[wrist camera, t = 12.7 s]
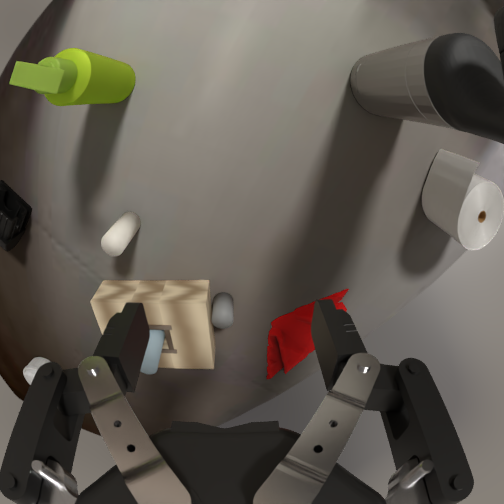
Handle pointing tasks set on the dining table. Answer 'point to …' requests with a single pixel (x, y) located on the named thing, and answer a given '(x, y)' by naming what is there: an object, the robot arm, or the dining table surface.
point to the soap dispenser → (76, 78)
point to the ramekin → (33, 368)
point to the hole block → (166, 316)
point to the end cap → (12, 217)
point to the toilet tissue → (462, 200)
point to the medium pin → (121, 234)
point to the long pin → (153, 352)
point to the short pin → (222, 310)
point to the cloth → (293, 336)
